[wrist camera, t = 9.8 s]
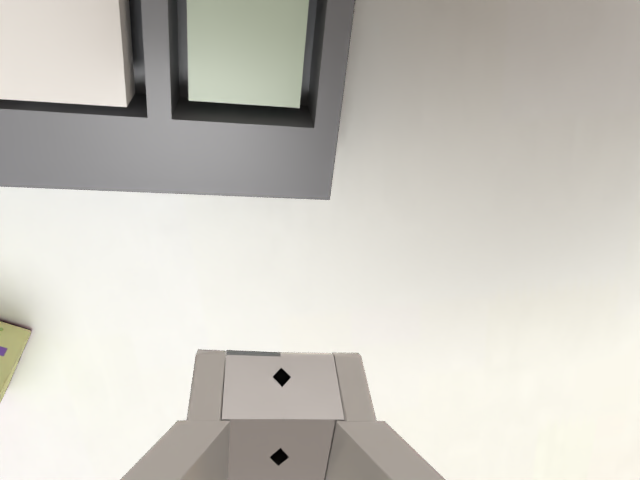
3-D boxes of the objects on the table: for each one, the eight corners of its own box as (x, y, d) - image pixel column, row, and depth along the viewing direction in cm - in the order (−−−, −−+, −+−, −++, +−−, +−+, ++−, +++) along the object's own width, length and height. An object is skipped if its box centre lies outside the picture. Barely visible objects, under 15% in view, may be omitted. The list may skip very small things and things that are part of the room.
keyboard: (347, -123, 22) (371, -131, 18) (316, 155, 28) (329, 199, 24) (-240, -202, 19) (-382, -235, 14) (-130, 131, 25) (-207, 177, 21)
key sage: (305, -16, 21) (309, -10, 20) (296, 95, 24) (299, 108, 22) (190, -28, 21) (186, -23, 19) (192, 88, 23) (188, 100, 21)
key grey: (126, -31, 19) (116, -25, 18) (135, 93, 21) (126, 107, 20) (-8, -44, 19) (-31, -40, 17) (15, 85, 21) (-3, 99, 19)
